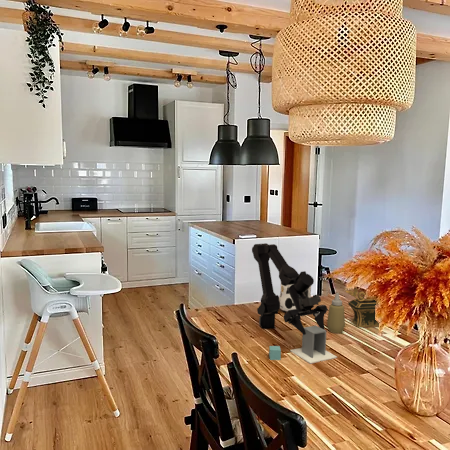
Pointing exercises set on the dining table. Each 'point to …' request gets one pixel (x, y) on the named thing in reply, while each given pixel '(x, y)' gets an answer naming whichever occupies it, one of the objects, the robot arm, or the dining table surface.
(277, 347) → the teal cube
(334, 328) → the squeeze bottle
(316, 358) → the cream square tile
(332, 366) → the dining table surface
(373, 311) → the decorative box
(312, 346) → the charcoal hood
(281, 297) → the cream spotted cookie jar
